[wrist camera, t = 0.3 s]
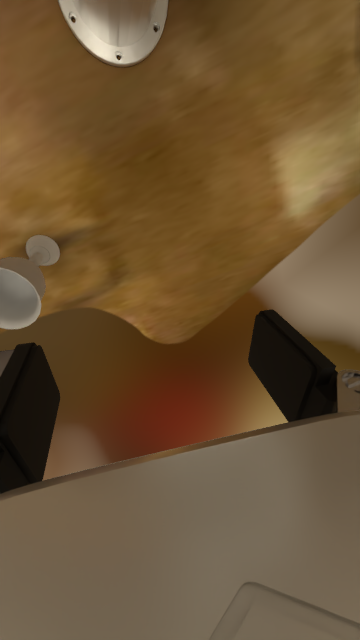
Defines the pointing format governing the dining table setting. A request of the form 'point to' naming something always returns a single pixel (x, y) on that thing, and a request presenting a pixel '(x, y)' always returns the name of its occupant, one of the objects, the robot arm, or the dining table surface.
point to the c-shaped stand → (4, 359)
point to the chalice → (25, 282)
